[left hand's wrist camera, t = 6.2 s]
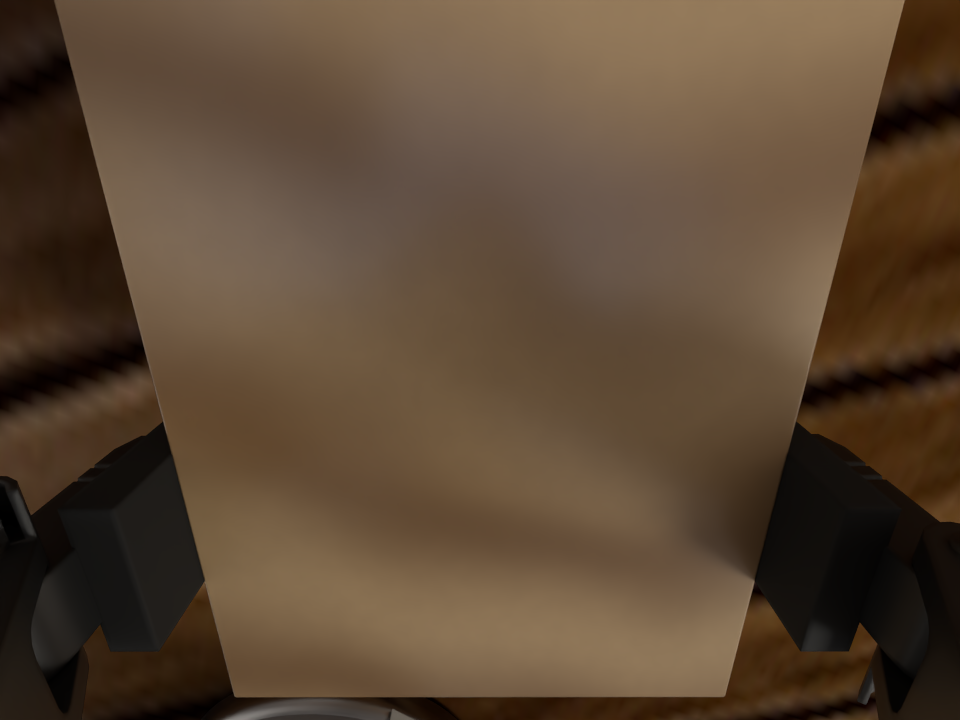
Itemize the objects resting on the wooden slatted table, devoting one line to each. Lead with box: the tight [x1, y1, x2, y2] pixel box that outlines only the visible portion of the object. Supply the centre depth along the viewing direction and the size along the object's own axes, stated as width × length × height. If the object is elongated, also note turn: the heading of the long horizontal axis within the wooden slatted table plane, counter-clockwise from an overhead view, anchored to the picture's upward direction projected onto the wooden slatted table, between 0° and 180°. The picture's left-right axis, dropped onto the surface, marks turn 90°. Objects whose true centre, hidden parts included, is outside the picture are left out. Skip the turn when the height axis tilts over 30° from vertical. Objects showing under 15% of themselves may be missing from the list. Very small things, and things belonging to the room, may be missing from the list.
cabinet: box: [54, 0, 905, 697], centre depth 11 cm, size 21×10×9 cm, turn 0°
